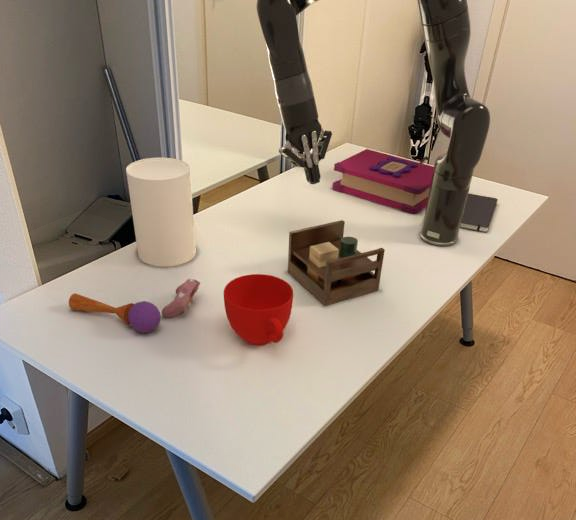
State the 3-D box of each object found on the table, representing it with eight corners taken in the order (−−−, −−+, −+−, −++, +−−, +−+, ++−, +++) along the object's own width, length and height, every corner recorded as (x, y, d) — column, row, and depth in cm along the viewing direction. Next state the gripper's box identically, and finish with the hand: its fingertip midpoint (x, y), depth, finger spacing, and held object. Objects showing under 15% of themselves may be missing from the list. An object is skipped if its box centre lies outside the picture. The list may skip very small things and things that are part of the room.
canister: (189, 237, 145) (183, 155, 133) (201, 262, 136) (195, 177, 123) (134, 243, 142) (122, 159, 129) (142, 269, 132) (130, 182, 119)
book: (366, 169, 186) (369, 145, 181) (447, 192, 174) (452, 167, 169) (330, 188, 173) (332, 163, 168) (414, 215, 161) (419, 188, 156)
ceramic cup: (245, 374, 105) (245, 328, 98) (216, 324, 116) (214, 280, 110) (310, 358, 109) (314, 313, 103) (276, 312, 121) (277, 269, 114)
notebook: (452, 195, 172) (439, 223, 157) (454, 190, 171) (440, 218, 156) (496, 203, 169) (487, 233, 153) (498, 198, 168) (488, 227, 152)
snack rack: (338, 259, 139) (342, 219, 133) (378, 290, 129) (384, 249, 122) (287, 272, 134) (289, 231, 127) (325, 306, 123) (328, 263, 117)
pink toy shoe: (178, 327, 118) (191, 303, 113) (158, 316, 117) (170, 291, 113) (194, 302, 125) (207, 278, 121) (175, 291, 125) (187, 267, 120)
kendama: (82, 283, 119) (165, 300, 112) (86, 310, 122) (167, 328, 115) (61, 291, 114) (146, 310, 107) (66, 320, 117) (149, 339, 110)
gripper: (278, 109, 115) (299, 195, 124) (332, 89, 119) (348, 174, 128) (260, 109, 121) (281, 192, 130) (312, 90, 125) (329, 171, 134)
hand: (314, 183), depth 129 cm, fingers closed
